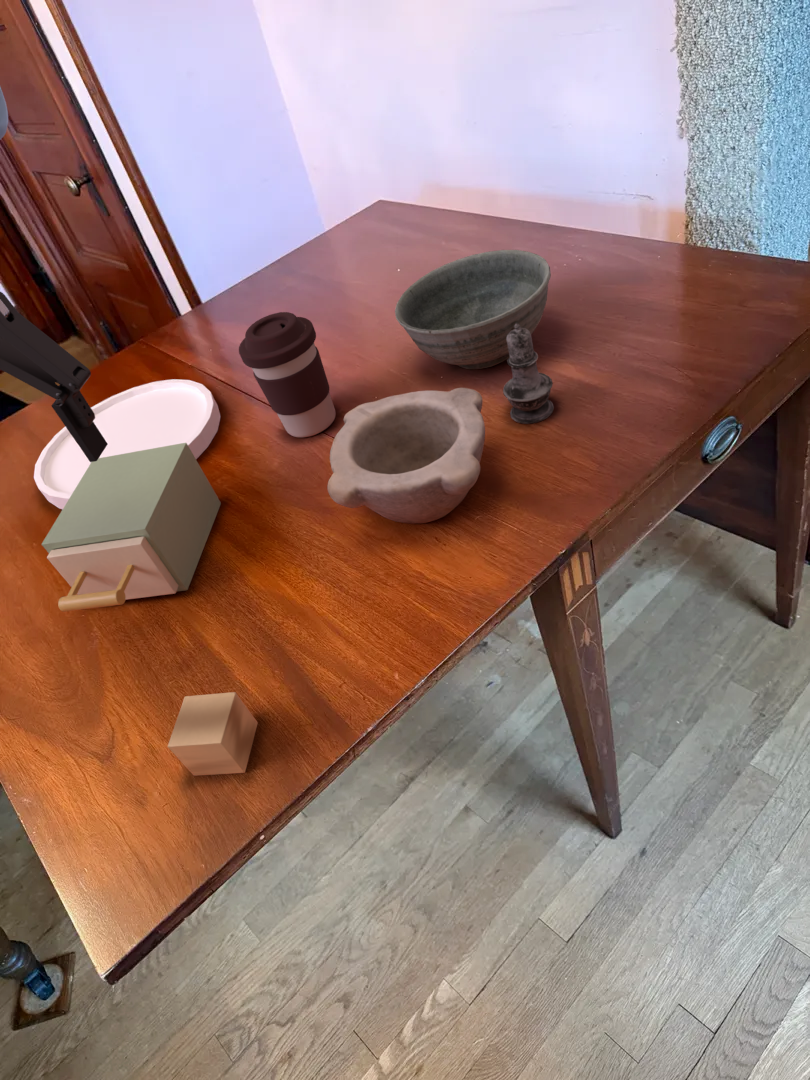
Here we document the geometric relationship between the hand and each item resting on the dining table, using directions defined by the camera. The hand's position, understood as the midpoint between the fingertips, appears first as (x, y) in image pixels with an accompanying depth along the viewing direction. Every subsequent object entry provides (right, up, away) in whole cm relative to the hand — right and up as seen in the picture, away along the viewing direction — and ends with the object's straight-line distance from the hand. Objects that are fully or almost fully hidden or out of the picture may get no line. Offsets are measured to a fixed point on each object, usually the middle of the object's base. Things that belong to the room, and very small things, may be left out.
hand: (40, 463), depth 74 cm
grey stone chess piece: (+52, +8, +18) cm, 55 cm away
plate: (-4, +6, +37) cm, 38 cm away
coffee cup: (+23, +8, +29) cm, 38 cm away
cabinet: (+6, -9, +17) cm, 20 cm away
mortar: (+38, -3, +11) cm, 40 cm away
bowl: (+47, +19, +30) cm, 59 cm away
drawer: (+5, -11, +13) cm, 18 cm away
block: (+20, -26, -7) cm, 34 cm away
